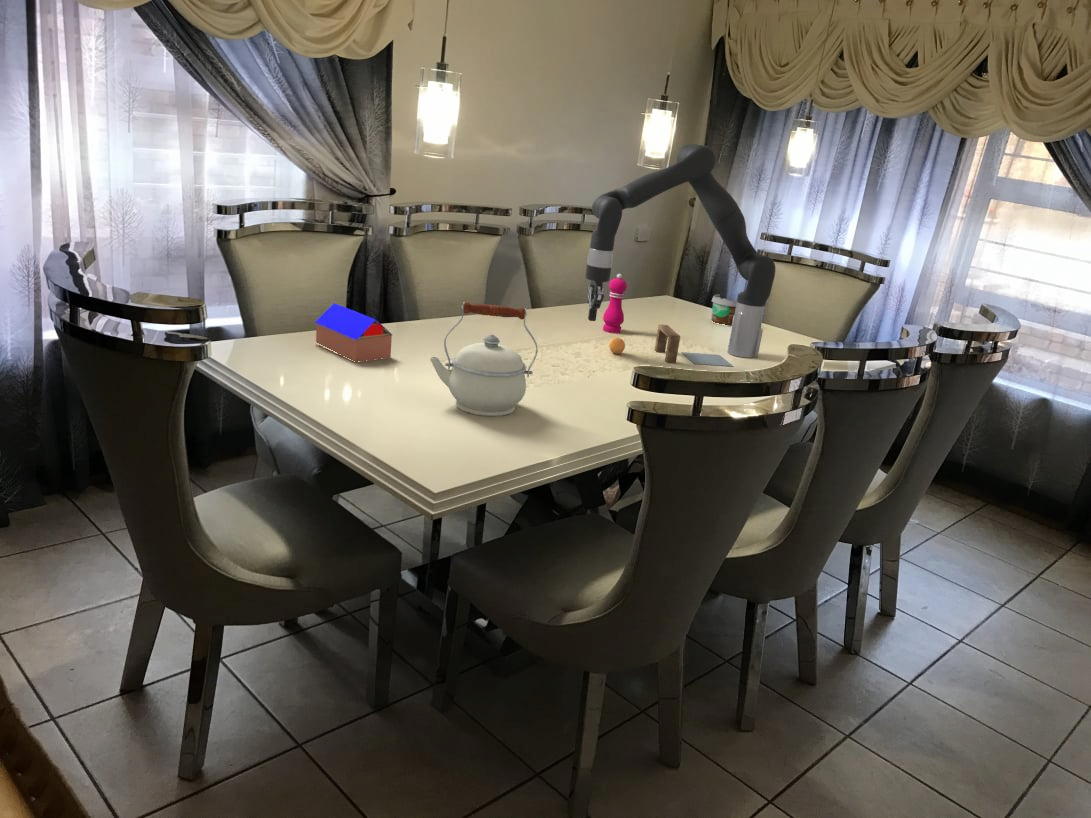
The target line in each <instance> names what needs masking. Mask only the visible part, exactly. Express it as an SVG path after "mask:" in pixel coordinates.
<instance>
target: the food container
mask: <svg viewBox="0 0 1091 818" xmlns="http://www.w3.org/2000/svg"><path fill="white" fill-rule="evenodd" d="M711 302H712V310H711V311H712V312H711V320H712V321H713V322H715V323H719V324H725V325H731V326H732V325H733V319H734V314H735V308H736V303H737V300H730V299H729V298H723V297H721V294H714V295H713V296H712V299H711Z"/></svg>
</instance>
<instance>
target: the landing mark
mask: <svg viewBox="0 0 1091 818" xmlns="http://www.w3.org/2000/svg"><path fill="white" fill-rule="evenodd" d="M681 354H682V355H683V356H685V358H687V359H688V360H689V361H690V363H691V364H693V365H701V366H703V365H705V366H717V367H718V366H719V367H732V368H733V367H734V365H733V364H732V363H731V362H729V361H728V360H727V359H726V358H724V357H723V356H722V355H720V354H713V353H700V352H699V353H698V352H697V353H696V352H683V351H682V352H681Z"/></svg>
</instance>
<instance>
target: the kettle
mask: <svg viewBox="0 0 1091 818" xmlns="http://www.w3.org/2000/svg"><path fill="white" fill-rule="evenodd" d="M460 307H461V309H462V313H461V318H460V319H459V320H458V322H456V323H455V324H453V326H452V327H451V328H450V329H449V330H448V332H447V333H446V335H445V338H444V341H443V345H444V346H443V347H444V352H445V356H446V357H447V358H446V359H447V361H448V362H445V363H444V364H443V363H442V362H441V360H440V358H439V357H438V356H435V355H434V356H430V357H429V360H430V362H431V364H432V366H433V368H434V370H435V372H436V375H437V376H438V377H439V379H440V380H441V382H442V383H443V384H444V385H445V386H446V387H447V388H448V389H449V391H450V394H451V396H452V397H453V398H454V399H455V405H456V407H457V408H458V409H460V410H461V411H463V412H465V413H468V414H470V415H476V416H480V417H503V416H506V415H510V414H512V413H513V412H514V411H515V408H516V405H518V404H519V403H520V402H521V401H522V400H523V398H524V396H525V394H526V390H527V381H526V377H527V378H529V377H530V375H532V374H534V373H533V372H534V371H533V370H531V368H532V367H533V364H534V362H535V360H536V358H537V355H538V345H537V344H538V343H537V341H536V339H535V338H534V336H533V335H532V333H531V331H530V330H529V328H528V327H527V325H526V317H527V316H528V312H527V308H524V307H520V308H514V307H510V306H506V305H501V306H500V305H496V304H494V305H493V304H488V303H487V304H485V303H478V304H477V303H475V304H474V303H469V302H468V301H463V302H462V305H461V306H460ZM469 313H470V314H471V313H472V314H477V315H481V316H490V317H496V318H497V317H500V318H518V319H519V320H523V326H524V328H525V331H526V332H527V333H528V334H529V336H530V338H531V339H532V341H533V342H534V343H533V344H534V345H535V348H536V349H535V354H534V356H533V359H531V363H530V364H529V366H528V367H527V365H526V364H525V363H524V362H523V359H522V357H521V355H520V354H519V353H518V351H516V350H514V349H513V348H511V347H509V346H507V345H503V344H500V343H501V340H500V339H499V337H497V336H496V335H494V334H493V333H490V334H489V335H487V336H485V337H484V338H483V339H482V341H483V342H476V343H471V344H469V345H466V346H464V347H463V348H461V349H460V350H459V352H457V354H456V355H455V356H454V357H453V358H452V359H451V358H450V355H449V352H448V349H447V339H448V336H449V335H450V333H451V332H452V331H453V330H454V329H455V328H456V327H457V326H458V325H459V324H461V322H462V321H463V318H464V314H465V315H467V314H469ZM450 368H451V369H450ZM525 375H526V376H525Z"/></svg>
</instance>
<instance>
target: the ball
mask: <svg viewBox="0 0 1091 818" xmlns="http://www.w3.org/2000/svg"><path fill="white" fill-rule="evenodd" d="M608 348H609V350H610V352H611V353H612V354H617V355H618V354H621V353H623V351H625V349H626V343H625V341H624V339H622V338H620V337H614V338H612V339H611V340H609V344H608Z"/></svg>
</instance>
